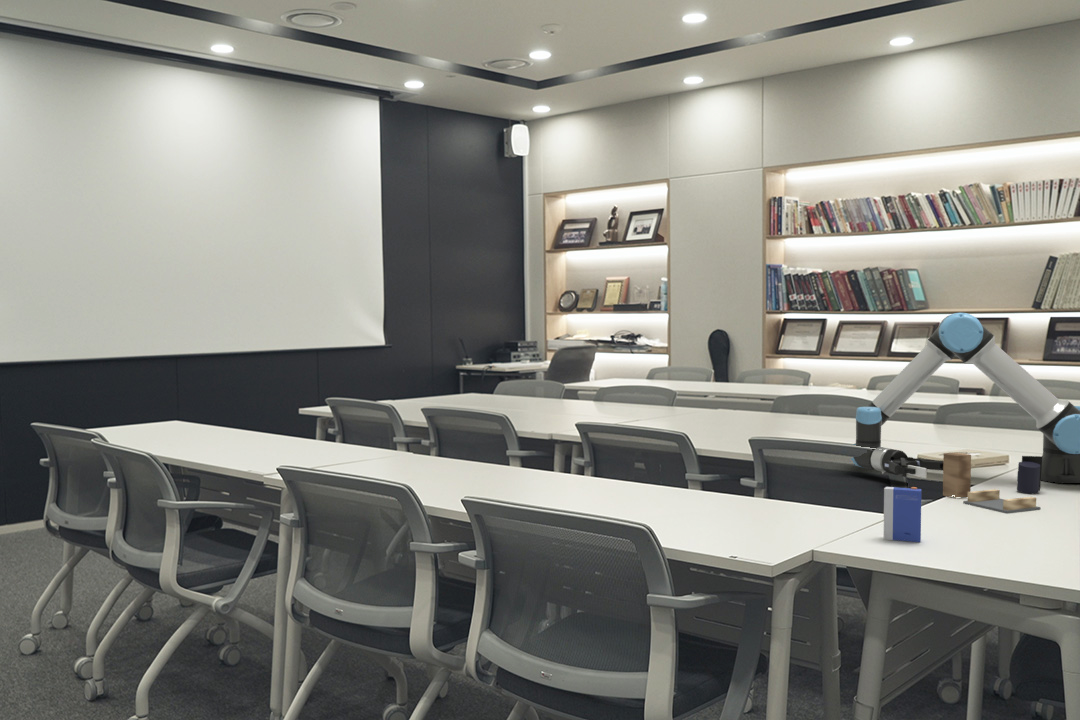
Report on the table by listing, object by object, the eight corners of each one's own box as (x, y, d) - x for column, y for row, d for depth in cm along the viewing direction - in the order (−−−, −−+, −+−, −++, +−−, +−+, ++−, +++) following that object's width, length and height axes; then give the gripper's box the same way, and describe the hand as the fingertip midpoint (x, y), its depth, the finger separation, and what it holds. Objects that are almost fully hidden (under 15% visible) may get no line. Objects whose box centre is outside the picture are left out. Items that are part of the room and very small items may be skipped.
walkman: (920, 539, 210) (921, 487, 209) (920, 542, 207) (920, 489, 207) (884, 536, 213) (884, 485, 212) (883, 539, 210) (883, 487, 210)
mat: (995, 499, 255) (996, 497, 254) (1040, 509, 242) (1040, 507, 242) (963, 503, 250) (963, 501, 250) (1006, 513, 237) (1006, 511, 237)
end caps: (994, 498, 254) (994, 489, 254) (1036, 507, 242) (1036, 497, 242) (967, 501, 250) (967, 491, 250) (1008, 510, 238) (1008, 500, 238)
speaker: (1018, 487, 271) (1020, 453, 269) (1040, 490, 268) (1042, 456, 266) (1014, 494, 264) (1017, 459, 263) (1037, 497, 261) (1040, 462, 260)
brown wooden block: (956, 494, 263) (956, 452, 262) (970, 497, 258) (971, 454, 258) (942, 495, 261) (943, 453, 260) (956, 498, 256) (957, 455, 256)
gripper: (921, 470, 288) (976, 481, 268) (857, 475, 278) (909, 487, 259) (921, 446, 287) (977, 456, 267) (857, 451, 278) (910, 461, 258)
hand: (944, 471), depth 263 cm, fingers open, 13 cm apart
